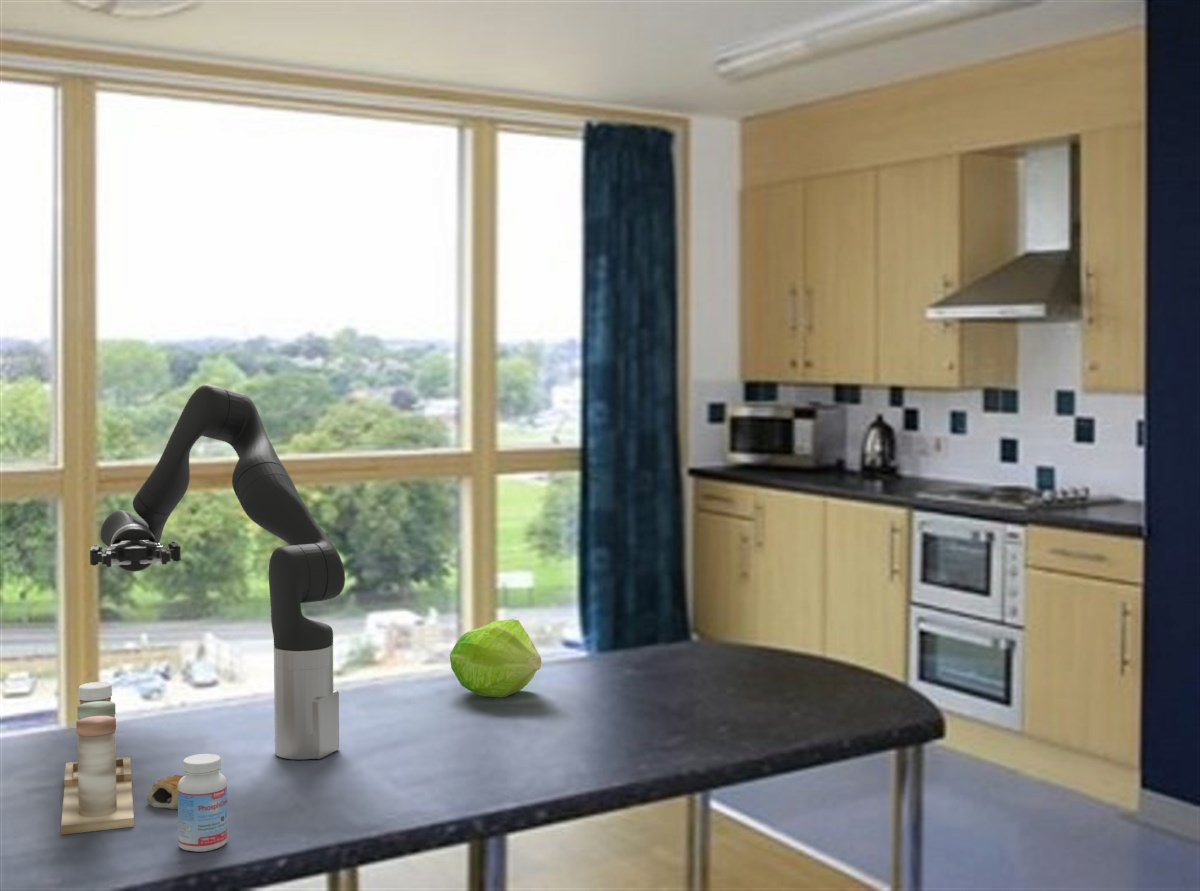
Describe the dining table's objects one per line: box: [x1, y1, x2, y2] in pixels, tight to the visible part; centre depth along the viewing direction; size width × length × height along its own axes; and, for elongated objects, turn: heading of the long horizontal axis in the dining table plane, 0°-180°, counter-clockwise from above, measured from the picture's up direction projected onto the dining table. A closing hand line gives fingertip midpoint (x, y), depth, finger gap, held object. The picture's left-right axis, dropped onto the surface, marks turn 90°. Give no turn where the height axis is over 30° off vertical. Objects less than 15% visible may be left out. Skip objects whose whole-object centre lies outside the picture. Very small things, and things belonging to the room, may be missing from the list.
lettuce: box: [449, 618, 542, 698], centre depth 248 cm, size 15×20×14 cm
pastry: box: [146, 774, 186, 810], centre depth 188 cm, size 9×7×4 cm
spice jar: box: [78, 681, 113, 705], centre depth 195 cm, size 5×5×14 cm
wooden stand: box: [60, 701, 135, 835], centre depth 187 cm, size 26×9×14 cm, turn 21°
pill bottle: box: [177, 753, 228, 853], centre depth 170 cm, size 6×6×11 cm
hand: (137, 559), depth 216 cm, fingers open, 8 cm apart
